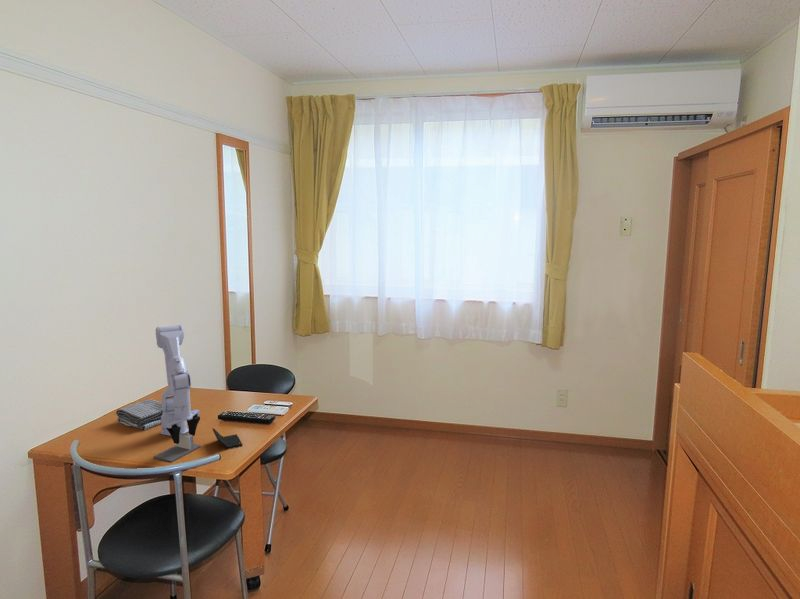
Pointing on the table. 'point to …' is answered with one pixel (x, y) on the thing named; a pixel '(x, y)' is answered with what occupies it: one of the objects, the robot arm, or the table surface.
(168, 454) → the grey rectangular slab
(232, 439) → the handheld gaming console
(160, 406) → the towel
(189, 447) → the card deck
